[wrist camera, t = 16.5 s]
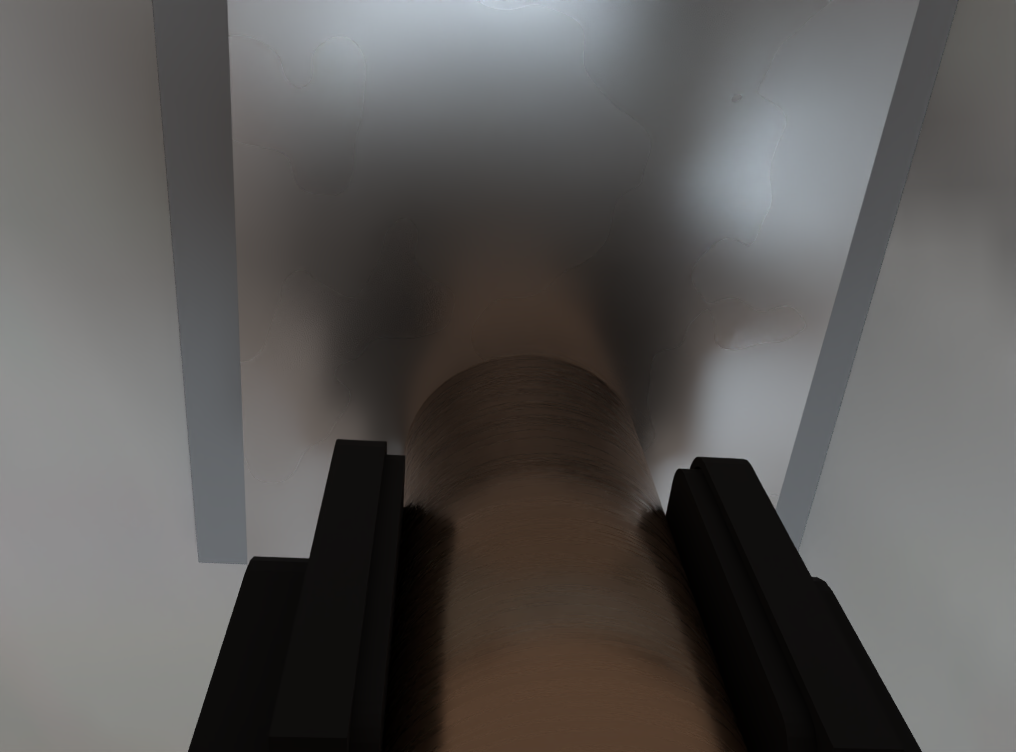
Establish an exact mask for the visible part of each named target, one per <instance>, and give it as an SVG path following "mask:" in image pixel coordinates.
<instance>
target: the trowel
mask: <svg viewBox="0 0 1016 752" xmlns="http://www.w3.org/2000/svg"><path fill="white" fill-rule="evenodd" d="M919 1H920V0H227V4H228V32H229V60H230V88H231V116H232V144H233V172H234V200H235V228H236V256H237V284H238V312H239V340H240V368H241V396H242V424H243V452H244V480H245V508H246V536H247V564H249V562H250V560H251V559H252V558H253V557H254V556H261V557H288V558H309V556H310V552H311V547H312V543H313V539H314V534H315V530H316V525H317V521H318V517H319V512H320V508H321V503H322V499H323V495H324V490H325V486H326V481H327V477H328V473H329V468H330V464H331V459H332V455H333V451H334V446H335V442H336V440H337V439H348V440H369V441H387V455H405V483H404V506H403V518H402V529H401V541H400V552H399V564H398V575H397V586H396V598H395V609H394V621H393V632H392V644H391V655H390V667H389V678H388V689H387V701H386V712H385V724H384V735H383V747H382V752H748V751H747V748H746V745H745V742H744V739H743V737H742V734H741V731H740V728H739V725H738V722H737V719H736V717H735V714H734V711H733V708H732V705H731V702H730V699H729V696H728V694H727V691H726V688H725V685H724V682H723V679H722V676H721V674H720V671H719V668H718V665H717V662H716V659H715V656H714V654H713V651H712V648H711V645H710V642H709V639H708V636H707V633H706V631H705V628H704V625H703V622H702V619H701V616H700V613H699V611H698V608H697V605H696V602H695V599H694V596H693V593H692V591H691V588H690V585H689V582H688V579H687V576H686V573H685V570H684V568H683V565H682V562H681V559H680V556H679V553H678V550H677V548H676V545H675V542H674V539H673V536H672V533H671V530H670V528H669V525H668V522H667V519H666V511H667V506H668V501H669V496H670V491H671V486H672V481H673V477H674V474H675V472H676V470H677V469H679V468H683V469H690V466H691V464H692V462H693V460H694V459H695V458H696V457H697V456H698V457H718V458H738V459H746V460H748V461H749V463H750V464H751V465H752V467H753V469H754V471H755V473H756V475H757V476H758V478H759V480H760V482H761V484H762V486H763V488H764V489H765V491H766V493H767V495H768V497H769V499H770V501H771V503H772V504H773V506H774V508H775V510H776V506H777V503H778V499H779V496H780V492H781V489H782V485H783V482H784V478H785V475H786V471H787V467H788V464H789V460H790V457H791V453H792V450H793V446H794V443H795V439H796V436H797V432H798V429H799V425H800V422H801V418H802V414H803V411H804V407H805V404H806V400H807V397H808V393H809V390H810V386H811V383H812V379H813V376H814V372H815V369H816V365H817V362H818V358H819V354H820V351H821V347H822V344H823V340H824V337H825V333H826V330H827V326H828V323H829V319H830V316H831V312H832V309H833V305H834V302H835V298H836V294H837V291H838V287H839V284H840V280H841V277H842V273H843V270H844V266H845V263H846V259H847V256H848V252H849V249H850V245H851V242H852V238H853V234H854V231H855V227H856V224H857V220H858V217H859V213H860V210H861V206H862V203H863V199H864V196H865V192H866V189H867V185H868V181H869V178H870V174H871V171H872V167H873V164H874V160H875V157H876V153H877V150H878V146H879V143H880V139H881V136H882V132H883V129H884V125H885V121H886V118H887V114H888V111H889V107H890V104H891V100H892V97H893V93H894V90H895V86H896V83H897V79H898V76H899V72H900V69H901V65H902V61H903V58H904V54H905V51H906V47H907V44H908V40H909V37H910V33H911V30H912V26H913V23H914V19H915V16H916V12H917V9H918V5H919Z"/></svg>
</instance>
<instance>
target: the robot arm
mask: <svg viewBox="0 0 1016 752" xmlns="http://www.w3.org/2000/svg"><path fill="white" fill-rule="evenodd" d="M404 483H405V455H387V441H369V440H348V439H337V440H336V442H335V446H334V451H333V455H332V459H331V464H330V468H329V473H328V477H327V481H326V486H325V490H324V495H323V499H322V503H321V508H320V512H319V517H318V521H317V525H316V530H315V534H314V539H313V543H312V547H311V552H310V556H309V558H288V557H261V556H254V557H253V558H252V559H251V560H250V562H249V564H248V567H247V569H246V572H245V575H244V578H243V581H242V584H241V587H240V591H239V594H238V597H237V600H236V603H235V606H234V609H233V612H232V616H231V619H230V622H229V625H228V628H227V631H226V634H225V637H224V641H223V644H222V647H221V650H220V653H219V656H218V659H217V663H216V666H215V669H214V672H213V675H212V678H211V681H210V684H209V688H208V691H207V694H206V697H205V700H204V703H203V706H202V710H201V713H200V716H199V719H198V722H197V725H196V728H195V731H194V735H193V738H192V741H191V744H190V747H189V750H188V752H382V747H383V735H384V724H385V712H386V701H387V689H388V678H389V667H390V655H391V644H392V632H393V621H394V609H395V598H396V586H397V575H398V564H399V552H400V541H401V529H402V518H403V506H404ZM666 519H667V522H668V525H669V528H670V530H671V533H672V536H673V539H674V542H675V545H676V548H677V550H678V553H679V556H680V559H681V562H682V565H683V568H684V570H685V573H686V576H687V579H688V582H689V585H690V588H691V591H692V593H693V596H694V599H695V602H696V605H697V608H698V611H699V613H700V616H701V619H702V622H703V625H704V628H705V631H706V633H707V636H708V639H709V642H710V645H711V648H712V651H713V654H714V656H715V659H716V662H717V665H718V668H719V671H720V674H721V676H722V679H723V682H724V685H725V688H726V691H727V694H728V696H729V699H730V702H731V705H732V708H733V711H734V714H735V717H736V719H737V722H738V725H739V728H740V731H741V734H742V737H743V739H744V742H745V745H746V748H747V751H748V752H922V751H921V749H920V747H919V746H918V744H917V742H916V740H915V738H914V737H913V735H912V733H911V731H910V729H909V728H908V726H907V724H906V722H905V720H904V719H903V717H902V715H901V713H900V711H899V710H898V708H897V706H896V704H895V703H894V701H893V699H892V697H891V695H890V694H889V692H888V690H887V688H886V686H885V685H884V683H883V681H882V679H881V677H880V676H879V674H878V672H877V670H876V668H875V667H874V665H873V663H872V661H871V659H870V658H869V656H868V654H867V652H866V650H865V649H864V647H863V645H862V643H861V641H860V640H859V638H858V636H857V634H856V632H855V631H854V629H853V627H852V625H851V624H850V622H849V620H848V618H847V616H846V615H845V613H844V611H843V609H842V607H841V606H840V604H839V602H838V600H837V598H836V597H835V595H834V593H833V591H832V590H831V589H830V587H829V586H828V585H827V583H826V582H825V581H823V580H821V579H819V578H818V577H811V575H810V573H809V571H808V570H807V568H806V566H805V564H804V562H803V560H802V558H801V557H800V555H799V553H798V551H797V549H796V547H795V545H794V543H793V542H792V540H791V538H790V536H789V534H788V532H787V530H786V529H785V527H784V525H783V523H782V521H781V519H780V517H779V516H778V514H777V512H776V510H775V508H774V506H773V504H772V503H771V501H770V499H769V497H768V495H767V493H766V491H765V489H764V488H763V486H762V484H761V482H760V480H759V478H758V476H757V475H756V473H755V471H754V469H753V467H752V465H751V464H750V463H749V461H748V460H746V459H738V458H718V457H698V456H697V457H696V458H695V459H694V460H693V462H692V464H691V466H690V469H683V468H679V469H677V470H676V472H675V474H674V477H673V481H672V486H671V491H670V496H669V501H668V506H667V511H666Z"/></svg>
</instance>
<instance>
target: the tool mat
mask: <svg viewBox="0 0 1016 752" xmlns="http://www.w3.org/2000/svg"><path fill="white" fill-rule="evenodd" d="M957 4H958V0H920V1H919V5H918V9H917V12H916V16H915V19H914V23H913V26H912V30H911V33H910V37H909V40H908V44H907V47H906V51H905V54H904V58H903V61H902V65H901V69H900V72H899V76H898V79H897V83H896V86H895V90H894V93H893V97H892V100H891V104H890V107H889V111H888V114H887V118H886V121H885V125H884V129H883V132H882V136H881V139H880V143H879V146H878V150H877V153H876V157H875V160H874V164H873V167H872V171H871V174H870V178H869V181H868V185H867V189H866V192H865V196H864V199H863V203H862V206H861V210H860V213H859V217H858V220H857V224H856V227H855V231H854V234H853V238H852V242H851V245H850V249H849V252H848V256H847V259H846V263H845V266H844V270H843V273H842V277H841V280H840V284H839V287H838V291H837V294H836V298H835V302H834V305H833V309H832V312H831V316H830V319H829V323H828V326H827V330H826V333H825V337H824V340H823V344H822V347H821V351H820V354H819V358H818V362H817V365H816V369H815V372H814V376H813V379H812V383H811V386H810V390H809V393H808V397H807V400H806V404H805V407H804V411H803V414H802V418H801V422H800V425H799V429H798V432H797V436H796V439H795V443H794V446H793V450H792V453H791V457H790V460H789V464H788V467H787V471H786V475H785V478H784V482H783V485H782V489H781V492H780V496H779V499H778V503H777V506H776V512H777V514H778V516H779V517H780V519H781V521H782V523H783V525H784V527H785V529H786V530H787V532H788V534H789V536H790V538H791V540H792V542H793V543H794V545H795V547H796V549H797V551H799V547H800V544H801V540H802V537H803V533H804V530H805V527H806V523H807V520H808V516H809V513H810V509H811V506H812V503H813V499H814V496H815V492H816V489H817V485H818V482H819V478H820V475H821V472H822V468H823V465H824V461H825V458H826V454H827V451H828V448H829V444H830V441H831V437H832V434H833V430H834V427H835V423H836V420H837V417H838V413H839V410H840V406H841V403H842V399H843V396H844V392H845V389H846V386H847V382H848V379H849V375H850V372H851V368H852V365H853V362H854V358H855V355H856V351H857V348H858V344H859V341H860V337H861V334H862V331H863V327H864V324H865V320H866V317H867V313H868V310H869V307H870V303H871V300H872V296H873V293H874V289H875V286H876V282H877V279H878V276H879V272H880V269H881V265H882V262H883V258H884V255H885V251H886V248H887V245H888V241H889V238H890V234H891V231H892V227H893V224H894V221H895V217H896V214H897V210H898V207H899V203H900V200H901V196H902V193H903V190H904V186H905V183H906V179H907V176H908V172H909V169H910V166H911V162H912V159H913V155H914V152H915V148H916V145H917V141H918V138H919V135H920V131H921V128H922V124H923V121H924V117H925V114H926V111H927V107H928V104H929V100H930V97H931V93H932V90H933V86H934V83H935V80H936V76H937V73H938V69H939V66H940V62H941V59H942V55H943V52H944V49H945V45H946V42H947V38H948V35H949V31H950V28H951V25H952V21H953V18H954V14H955V11H956V7H957ZM152 5H153V17H154V29H155V41H156V53H157V65H158V77H159V89H160V101H161V114H162V126H163V138H164V150H165V162H166V174H167V186H168V198H169V210H170V223H171V235H172V247H173V259H174V271H175V283H176V295H177V307H178V319H179V331H180V344H181V356H182V368H183V380H184V392H185V404H186V416H187V428H188V440H189V453H190V465H191V477H192V489H193V501H194V513H195V525H196V537H197V549H198V561H199V562H202V563H226V564H247V536H246V508H245V480H244V452H243V424H242V396H241V368H240V340H239V312H238V284H237V256H236V228H235V200H234V172H233V144H232V116H231V88H230V60H229V32H228V4H227V0H152Z"/></svg>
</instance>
